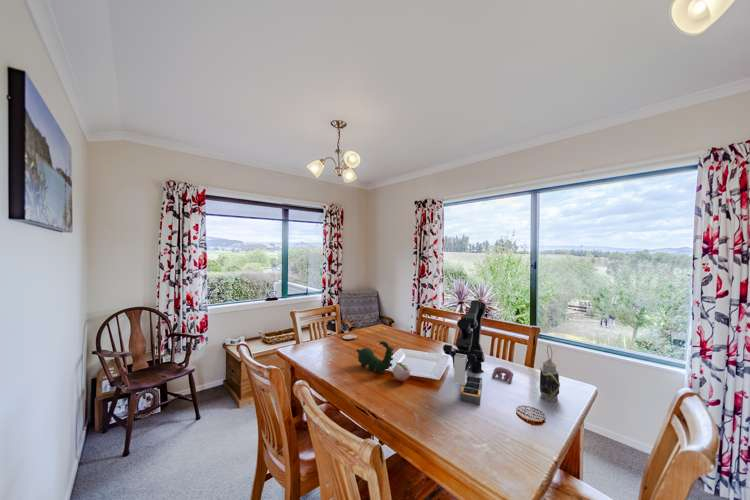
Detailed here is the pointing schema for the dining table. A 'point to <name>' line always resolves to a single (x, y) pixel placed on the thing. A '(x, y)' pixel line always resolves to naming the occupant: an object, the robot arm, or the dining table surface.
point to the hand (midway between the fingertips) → (459, 369)
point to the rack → (471, 390)
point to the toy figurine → (375, 358)
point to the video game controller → (501, 370)
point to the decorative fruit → (401, 371)
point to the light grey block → (460, 369)
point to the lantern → (549, 380)
